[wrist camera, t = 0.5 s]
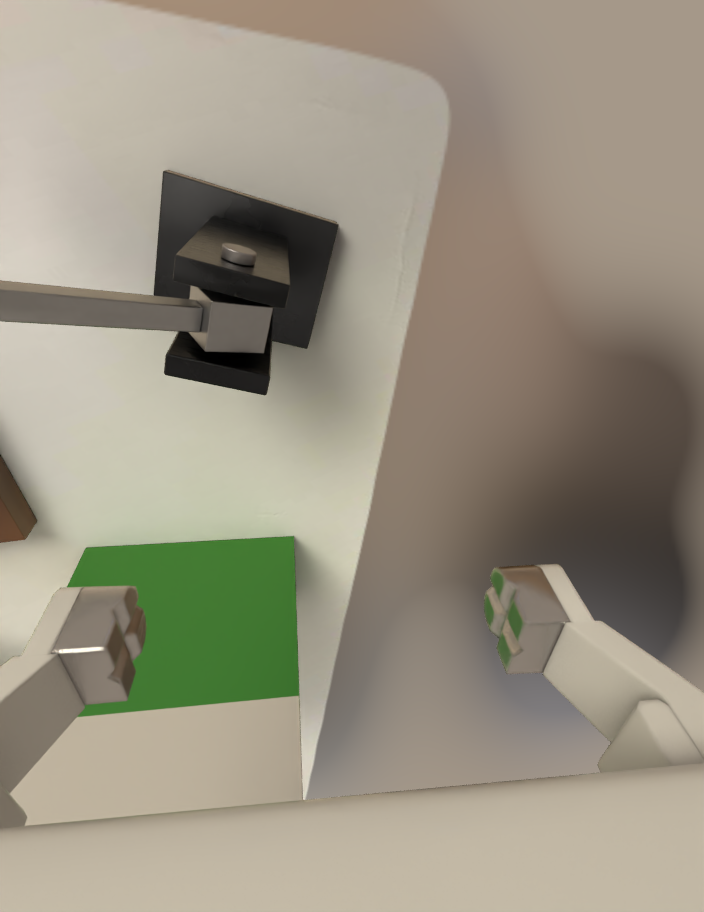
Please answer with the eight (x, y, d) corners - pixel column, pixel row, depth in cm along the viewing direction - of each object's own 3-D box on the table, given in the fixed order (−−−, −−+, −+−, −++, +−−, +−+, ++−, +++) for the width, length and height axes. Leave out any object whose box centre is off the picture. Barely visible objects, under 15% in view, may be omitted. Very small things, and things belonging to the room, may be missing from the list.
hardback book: (106, 605, 45) (-32, 973, 25) (85, 547, 41) (-99, 930, 21) (295, 592, 47) (306, 921, 27) (293, 536, 43) (304, 873, 23)
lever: (-84, 365, 17) (-84, 398, 15) (-119, 176, 14) (-123, 195, 13) (236, 368, 24) (256, 390, 23) (257, 245, 21) (283, 262, 20)
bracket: (156, 307, 31) (91, 393, 21) (167, 169, 27) (94, 187, 17) (306, 343, 34) (318, 435, 23) (336, 221, 30) (368, 266, 19)
